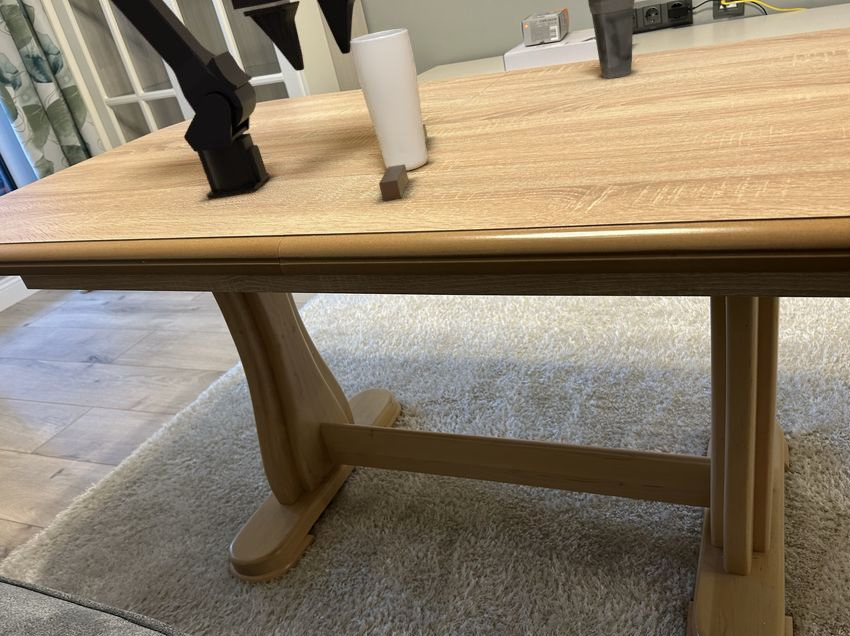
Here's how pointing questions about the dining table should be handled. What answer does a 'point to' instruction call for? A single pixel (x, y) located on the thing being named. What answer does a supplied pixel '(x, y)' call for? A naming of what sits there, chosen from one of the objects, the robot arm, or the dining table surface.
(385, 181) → the near stick
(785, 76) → the dining table surface
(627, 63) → the beverage cup
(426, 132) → the far stick
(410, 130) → the drinking glass
